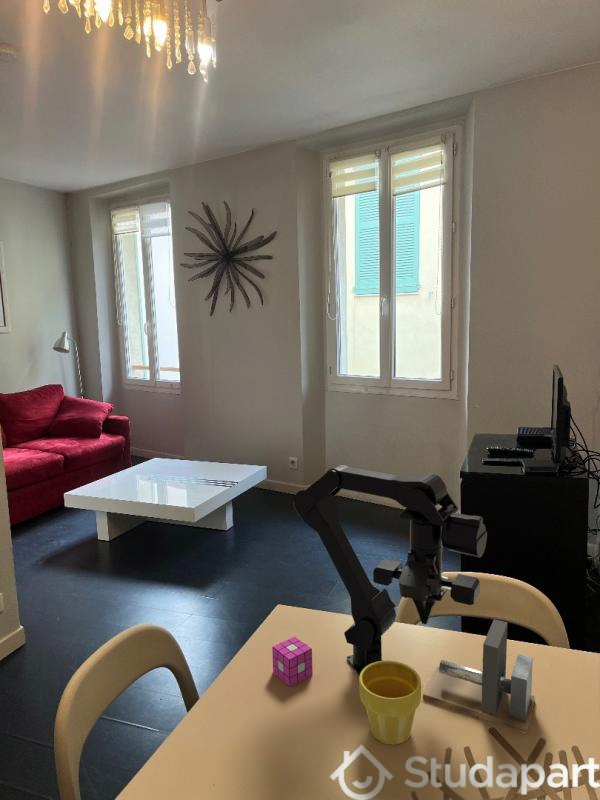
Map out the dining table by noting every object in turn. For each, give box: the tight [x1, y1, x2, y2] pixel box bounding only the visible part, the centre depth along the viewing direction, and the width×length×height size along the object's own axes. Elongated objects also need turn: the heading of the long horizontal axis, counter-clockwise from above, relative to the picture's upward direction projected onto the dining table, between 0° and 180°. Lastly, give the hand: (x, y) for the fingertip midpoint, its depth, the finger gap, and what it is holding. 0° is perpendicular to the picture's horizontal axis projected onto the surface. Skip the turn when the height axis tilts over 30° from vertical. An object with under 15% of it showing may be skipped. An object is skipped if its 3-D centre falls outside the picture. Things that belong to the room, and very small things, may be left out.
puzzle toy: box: [271, 636, 313, 687], centre depth 110 cm, size 6×6×6 cm
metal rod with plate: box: [438, 653, 534, 723], centre depth 100 cm, size 16×7×8 cm, turn 60°
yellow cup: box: [358, 660, 422, 746], centre depth 94 cm, size 10×10×10 cm
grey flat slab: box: [481, 619, 508, 715], centre depth 99 cm, size 2×9×12 cm, turn 150°
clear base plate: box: [422, 666, 536, 734], centre depth 101 cm, size 18×9×1 cm, turn 60°
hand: (424, 623), depth 103 cm, fingers closed
